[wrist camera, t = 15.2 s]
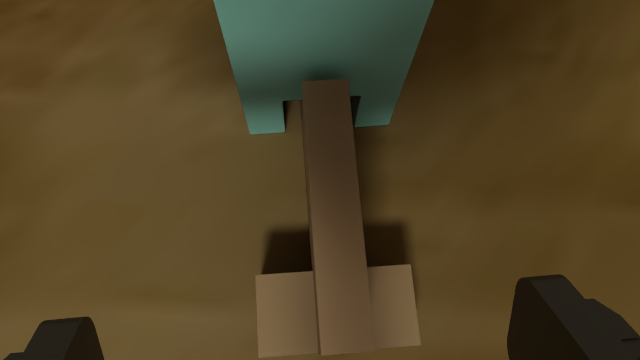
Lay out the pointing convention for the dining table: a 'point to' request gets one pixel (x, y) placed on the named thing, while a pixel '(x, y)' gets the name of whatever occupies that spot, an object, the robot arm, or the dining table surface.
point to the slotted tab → (320, 52)
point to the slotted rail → (334, 253)
